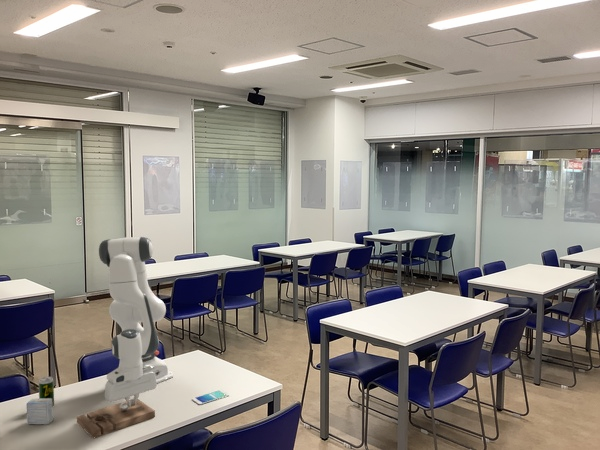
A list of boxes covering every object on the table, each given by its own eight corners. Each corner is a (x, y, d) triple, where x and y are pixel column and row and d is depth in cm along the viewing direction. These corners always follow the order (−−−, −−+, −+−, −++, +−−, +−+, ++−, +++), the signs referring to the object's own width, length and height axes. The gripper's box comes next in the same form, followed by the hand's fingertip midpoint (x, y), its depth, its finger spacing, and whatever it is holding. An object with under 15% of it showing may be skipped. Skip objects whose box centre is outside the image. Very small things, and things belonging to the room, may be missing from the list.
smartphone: (230, 394, 216) (199, 404, 206) (230, 396, 216) (199, 406, 206) (221, 389, 222) (190, 398, 212) (221, 391, 222) (191, 400, 212)
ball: (124, 400, 197) (117, 404, 195) (128, 402, 195) (121, 407, 193) (126, 407, 198) (119, 411, 196) (130, 409, 196) (123, 414, 194)
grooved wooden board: (136, 403, 208) (136, 398, 207) (154, 416, 196) (154, 410, 196) (77, 422, 191) (76, 416, 191) (93, 438, 180) (93, 431, 179)
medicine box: (53, 419, 194) (52, 397, 193) (48, 425, 189) (47, 402, 189) (32, 419, 194) (31, 398, 193) (27, 425, 189) (26, 403, 188)
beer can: (36, 408, 203) (35, 379, 202) (49, 403, 208) (47, 375, 207) (45, 411, 201) (43, 382, 200) (57, 406, 205) (56, 378, 204)
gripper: (151, 363, 206) (152, 395, 207) (102, 376, 192) (103, 411, 193) (159, 367, 201) (159, 400, 203) (109, 380, 187) (110, 416, 188)
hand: (131, 405), depth 198 cm, fingers closed
